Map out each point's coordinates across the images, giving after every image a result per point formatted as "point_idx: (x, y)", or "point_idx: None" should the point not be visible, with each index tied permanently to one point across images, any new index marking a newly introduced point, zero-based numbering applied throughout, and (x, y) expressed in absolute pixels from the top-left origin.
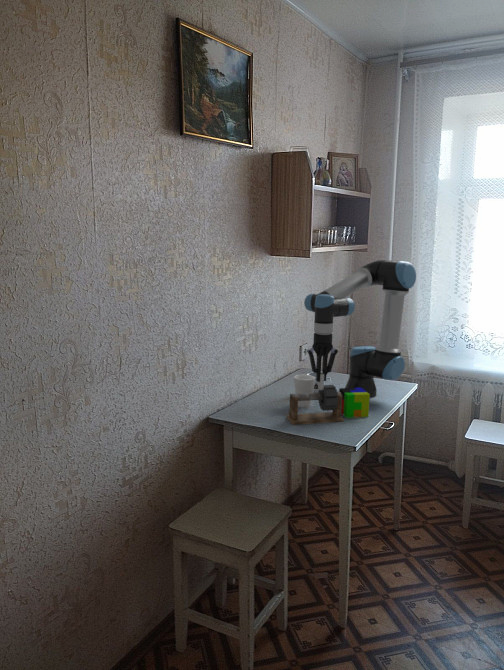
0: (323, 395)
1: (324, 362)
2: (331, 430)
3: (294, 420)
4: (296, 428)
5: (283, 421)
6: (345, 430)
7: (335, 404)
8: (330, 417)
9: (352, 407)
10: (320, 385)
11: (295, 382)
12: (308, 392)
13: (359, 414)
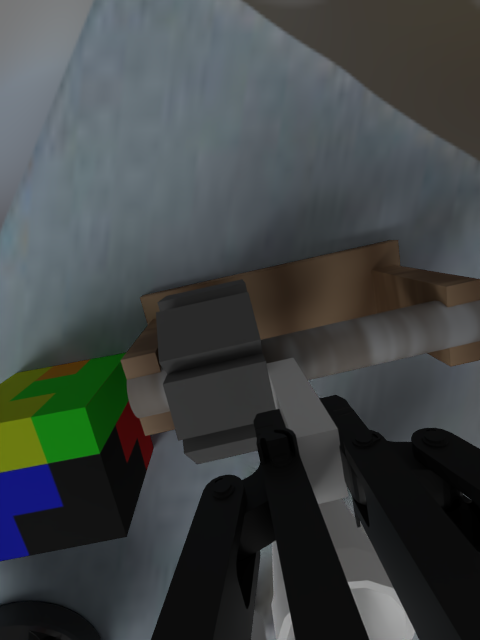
0: None
1: (359, 613)
2: (217, 170)
3: (386, 262)
4: (381, 192)
5: None
6: (147, 172)
7: (180, 293)
8: None
9: (78, 378)
10: (300, 373)
11: None
12: None
13: (55, 370)
